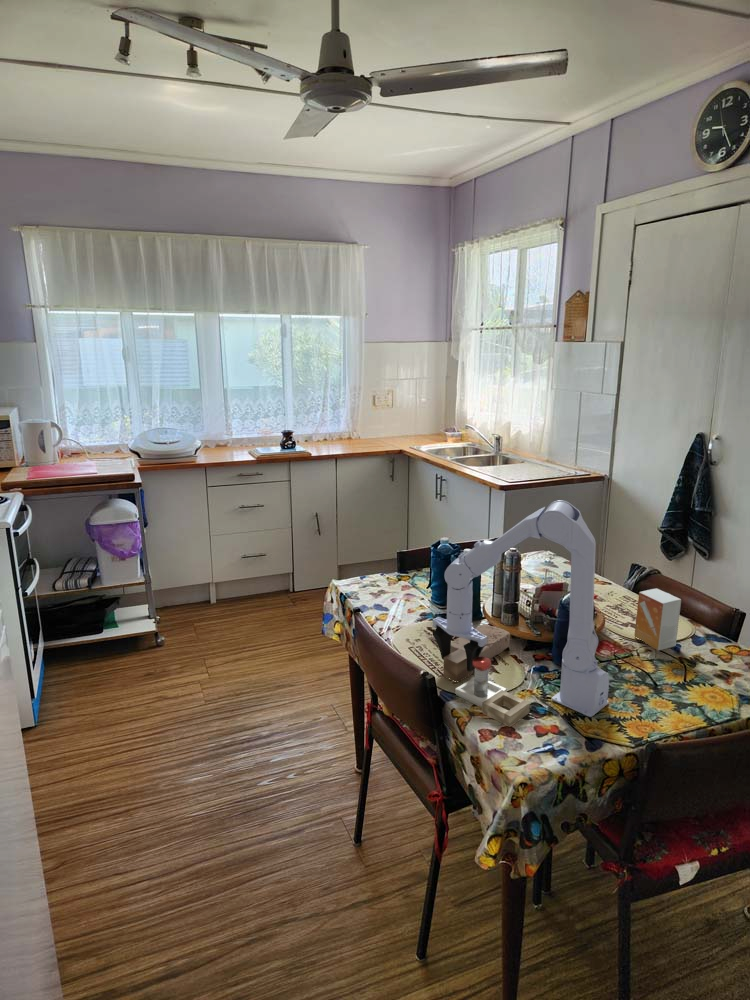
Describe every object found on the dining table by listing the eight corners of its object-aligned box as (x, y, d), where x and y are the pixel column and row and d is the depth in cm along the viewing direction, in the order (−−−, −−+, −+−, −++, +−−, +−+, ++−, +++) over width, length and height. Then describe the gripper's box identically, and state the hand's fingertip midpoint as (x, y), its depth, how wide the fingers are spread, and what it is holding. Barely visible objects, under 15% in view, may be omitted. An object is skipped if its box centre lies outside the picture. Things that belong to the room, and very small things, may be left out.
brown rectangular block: (472, 673, 151) (473, 654, 150) (456, 683, 147) (457, 663, 146) (459, 667, 154) (460, 648, 153) (443, 676, 150) (443, 657, 149)
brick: (472, 672, 152) (472, 654, 151) (444, 660, 158) (444, 642, 157) (510, 648, 164) (511, 631, 163) (483, 638, 169) (484, 621, 168)
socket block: (529, 713, 135) (529, 702, 135) (509, 727, 130) (510, 716, 130) (501, 700, 140) (502, 689, 139) (482, 712, 135) (482, 702, 135)
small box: (633, 637, 168) (638, 591, 165) (651, 633, 170) (656, 587, 167) (657, 651, 161) (663, 603, 157) (676, 646, 163) (682, 598, 160)
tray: (506, 694, 142) (506, 688, 142) (484, 709, 137) (484, 702, 136) (477, 681, 148) (477, 675, 147) (455, 694, 142) (455, 688, 142)
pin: (493, 696, 141) (494, 663, 139) (478, 700, 139) (479, 667, 137) (483, 687, 144) (484, 655, 142) (468, 691, 143) (468, 659, 141)
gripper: (496, 614, 144) (493, 668, 147) (446, 596, 154) (445, 647, 158) (476, 624, 139) (474, 680, 143) (426, 604, 149) (426, 657, 153)
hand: (458, 663), depth 150 cm, fingers open, 7 cm apart
